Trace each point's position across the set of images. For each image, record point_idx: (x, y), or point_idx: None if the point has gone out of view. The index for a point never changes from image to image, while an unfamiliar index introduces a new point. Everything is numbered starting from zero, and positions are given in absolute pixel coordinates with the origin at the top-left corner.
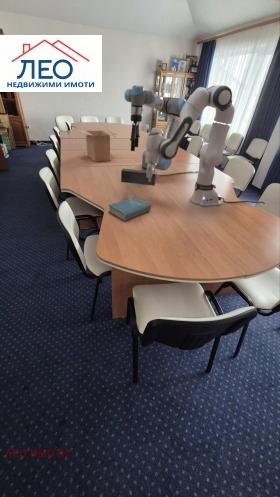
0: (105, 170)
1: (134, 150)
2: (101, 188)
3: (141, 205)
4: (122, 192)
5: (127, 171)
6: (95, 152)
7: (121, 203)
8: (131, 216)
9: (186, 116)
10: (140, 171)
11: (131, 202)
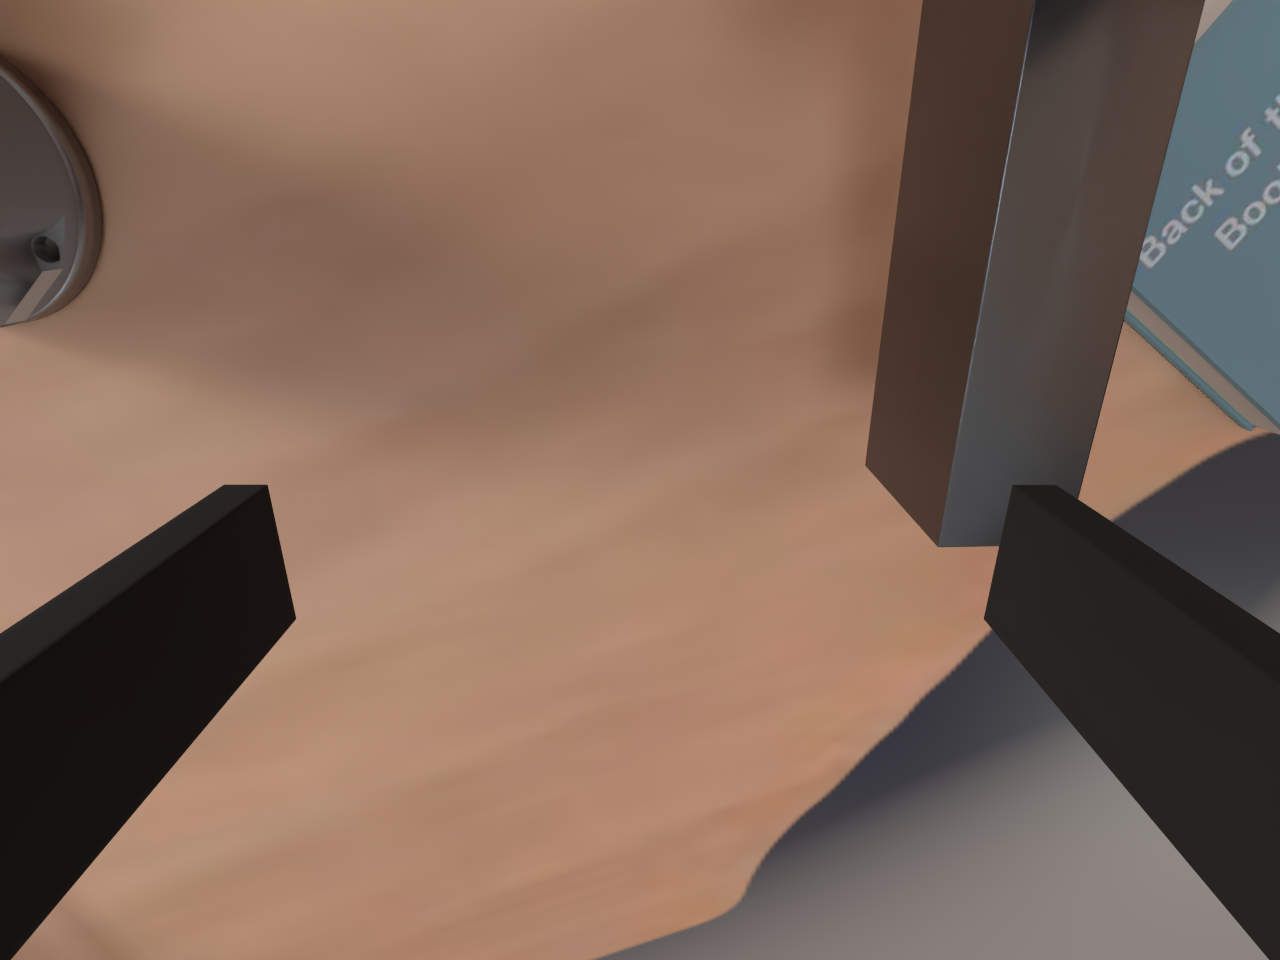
0: None
1: (1072, 496)
2: (661, 651)
3: None
4: (705, 418)
5: (1090, 427)
6: None
7: (1275, 329)
8: None
9: None
10: (1099, 144)
11: (1251, 211)
